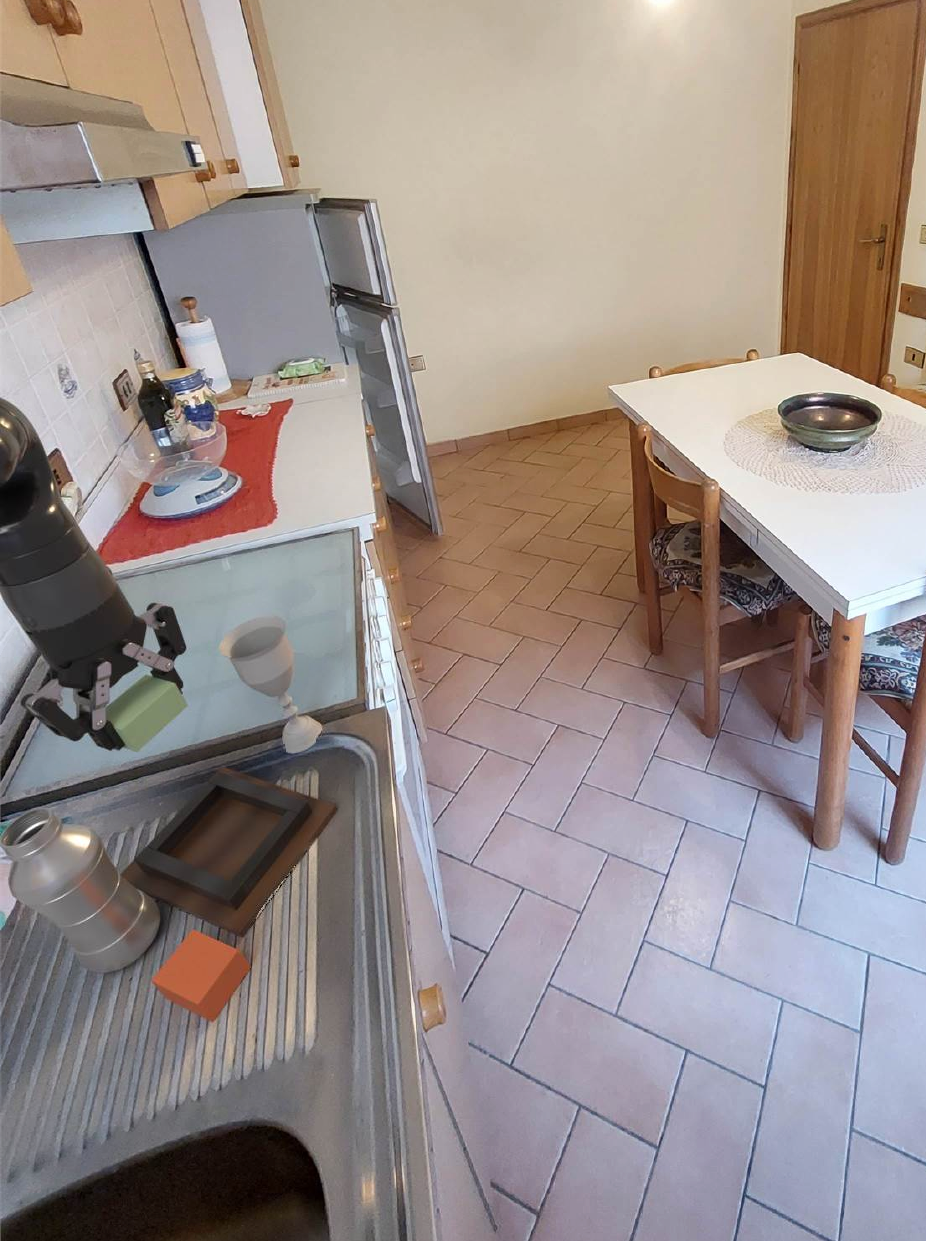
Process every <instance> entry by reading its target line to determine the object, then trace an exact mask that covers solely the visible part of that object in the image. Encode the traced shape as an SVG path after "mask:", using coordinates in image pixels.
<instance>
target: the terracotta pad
mask: <svg viewBox="0 0 926 1241" xmlns="http://www.w3.org/2000/svg"><path fill="white" fill-rule="evenodd" d="M182 940H183V941H181V943H180V944H179V945H178V947H177V948H176V949H175V950H174V952H173V953H172V954H171V955H170V956H169V957H168V958H167V960H166V962H165V963H164V964H163V965H162V966H161V968H160V969H159V970H158V971H157V973H156V974H155V975H154V976H153V977H152V979H151V981H150V982H151V983H152V984H153V986H154V987H155V988H156V989H157V990H158V991H159V992H160V993H161V994H162V995H163V997H164V998H165V999H167V1001H170V1002H172V1003H174V1004H176V1005H178V1006H179V1007H182V1008H184V1009H185V1010H188V1011H190V1012H192V1013H194V1014H195V1015H198V1016H199V1017H200V1018H204V1019H205V1020H207V1021H209V1022H210V1023H211V1022H212V1023H213V1022H214V1021H215V1020H216V1018H217V1017H218V1016H219V1014H220V1013H221V1012H222V1010H223V1008H224V1007H225V1006H226V1004H227V1003H228V1001H229V1000H230V999H231V997H232V996H233V994H234V993H235V992H236V990H237V989H238V988H239V986H240V985H241V983H242V982H243V980H244V979H243V977H244V976H245V975H246V974H247V975H248V973H249V972H250V971H251V969H252V967H251V966H250V964H249V963H248V961H247V960H246V959H245V957H244V956H243V955H242V953H241V952H240V951H239V949H237V948H235V947H233V946H230V945H229V944H227V943H224V942H222V941H220V940H217V939H215V938H214V937H211V936H209V935H207V934H205V933H202V932H200V931H197V930H195V929H191V931H190V932H189V933H188V934H187V935H186V937H185V938H184V939H182ZM250 968H251V969H250ZM248 971H249V972H248ZM247 975H246V976H247ZM246 976H245V977H246ZM245 977H244V978H245ZM242 979H243V980H242ZM241 981H242V982H241ZM240 982H241V983H240ZM234 991H235V992H234Z"/></svg>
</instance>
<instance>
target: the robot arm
mask: <svg viewBox="0 0 926 1241" xmlns="http://www.w3.org/2000/svg"><path fill="white" fill-rule="evenodd" d="M0 596H1V598H2V600H3V603H4V605H5V606H6V607H7V609H8V611H9V612H10V613H11V614H12V616H13V617H14V619H15V620H16V621H17V623H18V624H19V626H20V628H21V629H22V630H23V632H24V633H25V634H26V635H27V637H28V639H29V640H30V641H31V643H32V644H33V646H34V647H35V648H36V649H37V651H38V652H39V654H40V655H41V656H42V658H43V659H44V660H45V662H46V664H48V667H49V668H50V680H49V681H48V682H47V683H46V684H45V685H44V686H43V687H42V688H40V689H39V690H38V691H37V692H36V693H32V692H31V693H27V694H26V695H24V696H23V697H21V700H20V702H19V703H20V707H22V708H23V709H25V711H27V712H28V713H29V714H31V715H32V716H33V717H34V718H36V719H37V721H38V722H40V723H41V724H43V725H44V726H45V727H46V728H47V729H48V730H49V731H51V732H52V733H53V734H54V735H56V736H58V737H63V738H66V739H68V740H69V741H72V742H78V741H80V740H82V739H83V737H84V736H85V734H88V735H89V737H90V738H91V739H92V741H93V743H94V744H95V745H96V746H97V747H98V748H101V749H104V750H107V751H110V752H112V751H113V750H115V751H121V750H122V749H123V747H124V746H125V743H124V741H123V740H122V739H121V737H120V736H119V734H118V733H117V731H116V730H115V729H114V726H113V724H112V723H111V721H108V720H106V707H107V706H108V705H109V704H110V697H111V696H110V692H111V690H110V689H111V688H113V687H114V686H115V685H116V684H117V683H118V682H119V681H120V680H121V679H122V678H123V677H124V676H125V675H128V674H129V673H132V672H133V671H134V670H135V669H136V668H138V667H139V664H141V665H143V666H146V667H149V668H151V670H150V671H149V673H150V674H151V676H153V677H155V678H159V679H162V680H165V681H169V682H173V683H175V684H176V686H177V687H178V689H179V691H180V692H181V694H182V695H183V691H182V689H183V688H184V681H183V680H182V678H181V676H180V674H179V673H178V671H177V669H176V668H175V661H176V659H177V658H178V657H179V656H182V655H183V654H185V652H186V651H187V644H186V641H185V639H184V635H183V632H182V629H181V626H180V624H179V621H178V618H177V615H176V612H175V610H174V607H172V606H170V605H165V604H160V603H157V602H151V603H149V604H148V606H147V607H146V611H145V612H143V613H141V614H140V615H138V616H137V615H135V611H134V609H133V607H132V606H131V604H130V602H129V601H128V599H127V597H126V596H125V594H124V592H123V590H122V589H121V587H120V585H119V584H118V582H117V580H116V579H115V576H114V574H113V570H112V569H111V568H110V567H109V566H108V565H107V564H106V562H105V561H104V559H103V558H102V557H101V555H100V554H99V553H98V552H97V551H96V550H95V548H94V547H93V546H92V545H91V543H90V542H89V540H88V539H87V537H86V536H85V534H84V532H83V530H82V528H81V527H80V525H79V524H78V522H77V520H76V519H75V516H73V514H72V512H71V511H70V509H69V508H68V507H67V506H66V504H65V502H64V500H63V498H62V495H61V493H60V489H59V486H58V483H57V480H56V477H55V474H54V471H53V468H52V465H51V463H50V460H49V457H48V455H47V452H46V450H45V447H44V444H43V443H42V440H41V438H40V436H39V434H38V432H37V430H36V429H35V427H34V425H33V424H32V422H31V421H30V420H29V419H28V417H27V416H26V414H24V412H23V411H22V410H20V408H18V407H17V406H16V405H14V404H13V403H12V402H10V401H9V400H7V399H6V398H3V397H0ZM147 627H148V628H150V629H152V630H153V633H154V635H155V639H156V641H157V644H158V646H159V650H158V652H154V651H152V650H149V649H147V648H145V647H144V646H145V645H144V644H145V638H146V633H147V630H148V628H147ZM64 688H65V689H72V700H73V702H74V704H75V707H76V708H75V710H76V711H75V715H76V717H75V718H72V717H71V716H70V715H69V714H68V713H66V711H64V710H63V709H62V708H61V707H63V705H64V702H63V697H62V696H61V694H62V691H63V689H64Z"/></svg>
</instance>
